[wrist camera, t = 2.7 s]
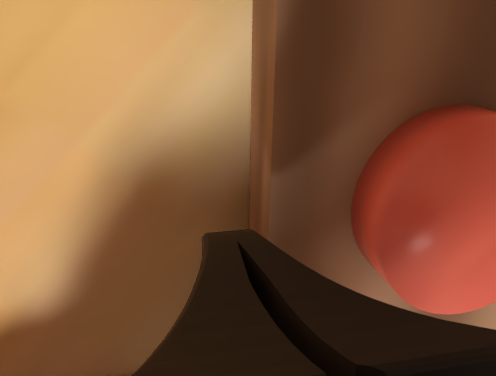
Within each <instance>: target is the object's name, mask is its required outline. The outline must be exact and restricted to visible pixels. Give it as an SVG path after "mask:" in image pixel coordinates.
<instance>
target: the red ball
mask: <svg viewBox="0 0 496 376" xmlns="http://www.w3.org/2000/svg"><path fill="white" fill-rule="evenodd" d="M351 222H352V230H353V234H354V238H355V241H356V243H357V246H358V248H359V250H360V251H361V253H362V255H363V256H364V258H365V259H366V260H367V261H368V262H369V263H370V264H371V265H372V266H373V268H374V269H375V270H376V271H377V272H378V273H379V274H380V275H381V276H382V277H383V279H384V280H385V281H386V282H387V283H388V284H389V285H390V286H391V287H392V289H393V290H394V291H395V292H396V293H397V294H398V295H399V296H400V297H401V298H402V299H403V300H404V301H406V302H407V303H408V304H410V305H412V306H413V307H415V308H417V309H420V310H423V311H425V312H429V313H434V314H447V315H450V314H460V313H465V312H470V311H474V310H477V309H480V308H483V307H485V306H488V305H490V304H492V303H494V302H496V111H492V110H489V109H485V108H481V107H477V106H472V105H463V104H455V105H445V106H441V107H437V108H433V109H431V110H428V111H425V112H423V113H421V114H419V115H417V116H415V117H413V118H411V119H409V120H408V121H406V122H405V123H404V124H402V125H401V126H399V127H398V128H397V129H395V130H394V131H393V132H392V133H391V134H390V135H389V136H387V137H386V139H385V140H384V141H383V142H382V143H381V144H380V145H379V146H378V147H377V149H376V150H375V151H374V153H373V154H372V156H371V157H370V158H369V160H368V162H367V163H366V165H365V167H364V169H363V171H362V173H361V175H360V177H359V180H358V182H357V185H356V188H355V192H354V196H353V201H352V210H351Z"/></svg>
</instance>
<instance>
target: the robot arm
mask: <svg viewBox="0 0 496 376" xmlns="http://www.w3.org/2000/svg"><path fill="white" fill-rule="evenodd" d="M132 376H496V330H494V329H489V328H484V327H479V326H473V325H468V324H463V323H458V322H452V321H447V320H443V319H438V318H435V317H431V316H427V315H423V314H419V313H416V312H412V311H409V310H405V309H402V308H399V307H396V306H393V305H390V304H387V303H384V302H381V301H379V300H376V299H373V298H370V297H368V296H365V295H363V294H360V293H358V292H355V291H353V290H351V289H349V288H347V287H345V286H342V285H340V284H338V283H336V282H334V281H332V280H330V279H328V278H326V277H324V276H322V275H321V274H319V273H317V272H316V271H314V270H312V269H310V268H309V267H307V266H305V265H304V264H302V263H300V262H299V261H297V260H296V259H294V258H293V257H291V256H290V255H288V254H287V253H285V252H284V251H282V250H281V249H279V248H278V247H277V246H275V245H274V244H272V243H271V242H270V241H268V240H267V239H265V238H264V237H263V236H261V235H260V234H258V233H257V232H255V231H254V230H252V229H248V230H237V231H225V232H214V233H206V234H205V235H204V236H203V237H202V262H201V266H200V270H199V273H198V276H197V279H196V282H195V284H194V287H193V290H192V292H191V294H190V297H189V299H188V301H187V303H186V305H185V307H184V309H183V311H182V312H181V314H180V316H179V317H178V319H177V321H176V322H175V324H174V325H173V327H172V329H171V330H170V332H169V333H168V334H167V336H166V337H165V339H164V340H163V341H162V342H161V344H160V345H159V346H158V347H157V349H156V350H155V351H154V352H153V353H152V355H151V356H150V357H149V358H148V359H147V361H146V362H145V363H144V364H143V365H142V366H141V367H140V368H139V369H138V370H137V371H136V372H135V373H134V374H133V375H132Z"/></svg>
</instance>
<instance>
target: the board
mask: <svg viewBox="0 0 496 376" xmlns="http://www.w3.org/2000/svg"><path fill="white" fill-rule="evenodd" d="M455 104H463V105H472V106H477V107H481V108H485V109H489V110H492V111H496V0H253V26H252V85H251V143H250V202H249V229H252V230H254V231H255V232H257V233H258V234H260V235H261V236H263V237H264V238H265V239H267V240H268V241H270V242H271V243H272V244H274V245H275V246H277V247H278V248H279V249H281V250H282V251H284V252H285V253H287V254H288V255H290V256H291V257H293V258H294V259H296V260H297V261H299V262H300V263H302V264H304V265H305V266H307V267H309V268H310V269H312V270H314V271H316V272H317V273H319V274H321V275H322V276H324V277H326V278H328V279H330V280H332V281H334V282H336V283H338V284H340V285H342V286H345V287H347V288H349V289H351V290H353V291H355V292H358V293H360V294H363V295H365V296H368V297H370V298H373V299H376V300H379V301H381V302H384V303H387V304H390V305H393V306H396V307H399V308H402V309H405V310H409V311H412V312H416V313H419V314H423V315H427V316H431V317H435V318H438V319H443V320H447V321H452V322H458V323H463V324H468V325H473V326H479V327H484V328H489V329H494V330H496V302H494V303H492V304H490V305H488V306H485V307H483V308H480V309H477V310H474V311H470V312H465V313H460V314H450V315H447V314H434V313H429V312H425V311H423V310H420V309H417V308H415V307H413V306H412V305H410V304H408V303H407V302H406V301H404V300H403V299H402V298H401V297H400V296H399V295H398V294H397V293H396V292H395V291H394V290H393V289H392V287H391V286H390V285H389V284H388V283H387V282H386V281H385V280H384V279H383V277H382V276H381V275H380V274H379V273H378V272H377V271H376V270H375V269H374V268H373V266H372V265H371V264H370V263H369V262H368V261H367V260H366V259H365V258H364V256H363V255H362V253H361V251H360V250H359V248H358V246H357V243H356V241H355V238H354V234H353V230H352V222H351V210H352V201H353V196H354V192H355V188H356V185H357V182H358V180H359V177H360V175H361V173H362V171H363V169H364V167H365V165H366V163H367V162H368V160H369V158H370V157H371V156H372V154H373V153H374V151H375V150H376V149H377V147H378V146H379V145H380V144H381V143H382V142H383V141H384V140H385V139H386V137H387V136H389V135H390V134H391V133H392V132H393V131H394V130H395V129H397V128H398V127H399V126H401V125H402V124H404V123H405V122H406V121H408V120H409V119H411V118H413V117H415V116H417V115H419V114H421V113H423V112H425V111H428V110H431V109H433V108H437V107H441V106H445V105H455Z"/></svg>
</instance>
